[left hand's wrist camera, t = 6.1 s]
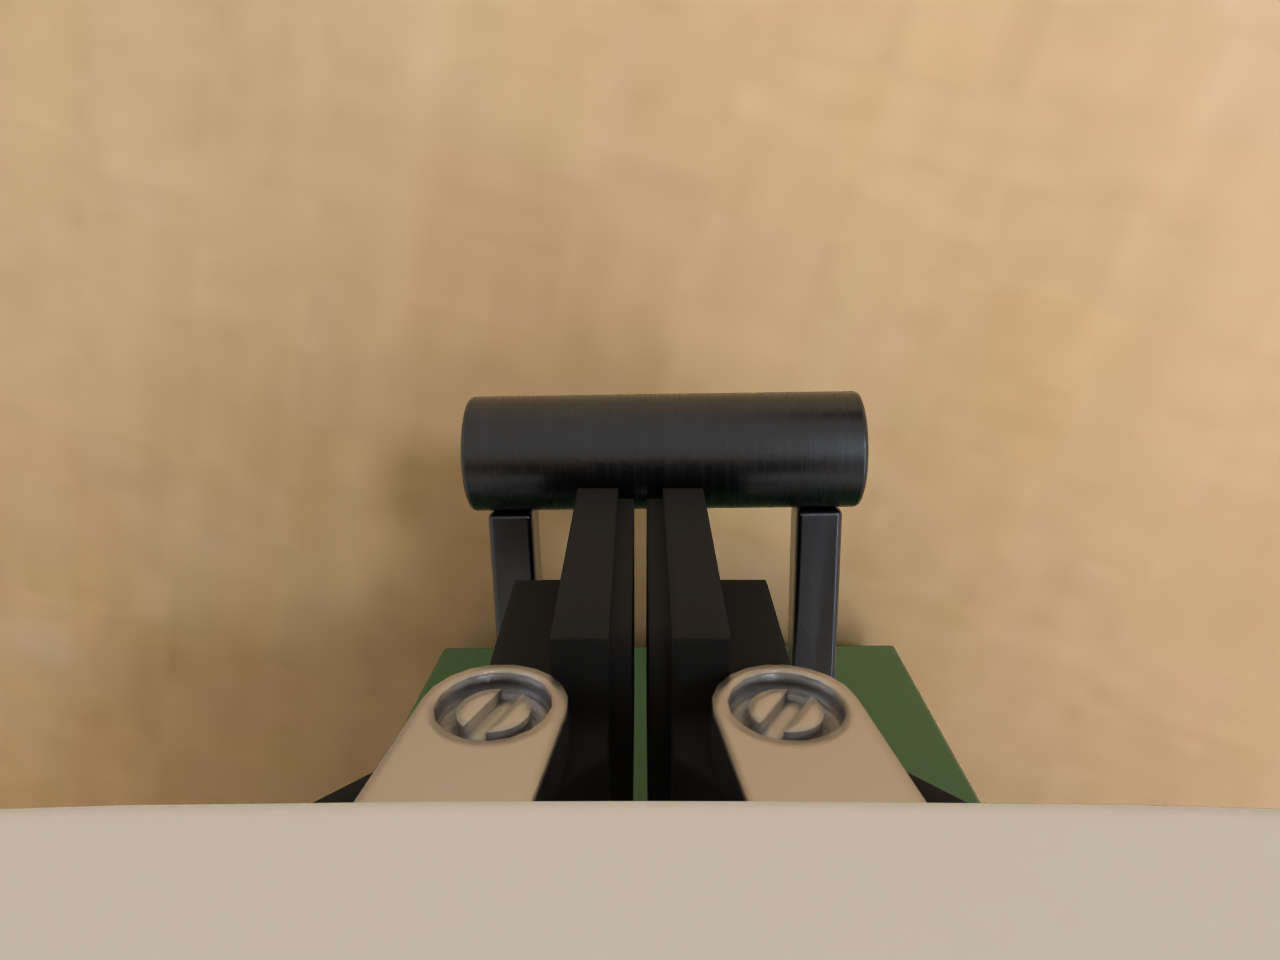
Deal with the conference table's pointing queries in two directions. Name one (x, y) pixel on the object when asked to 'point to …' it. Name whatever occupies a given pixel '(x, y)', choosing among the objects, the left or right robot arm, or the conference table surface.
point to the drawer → (731, 478)
